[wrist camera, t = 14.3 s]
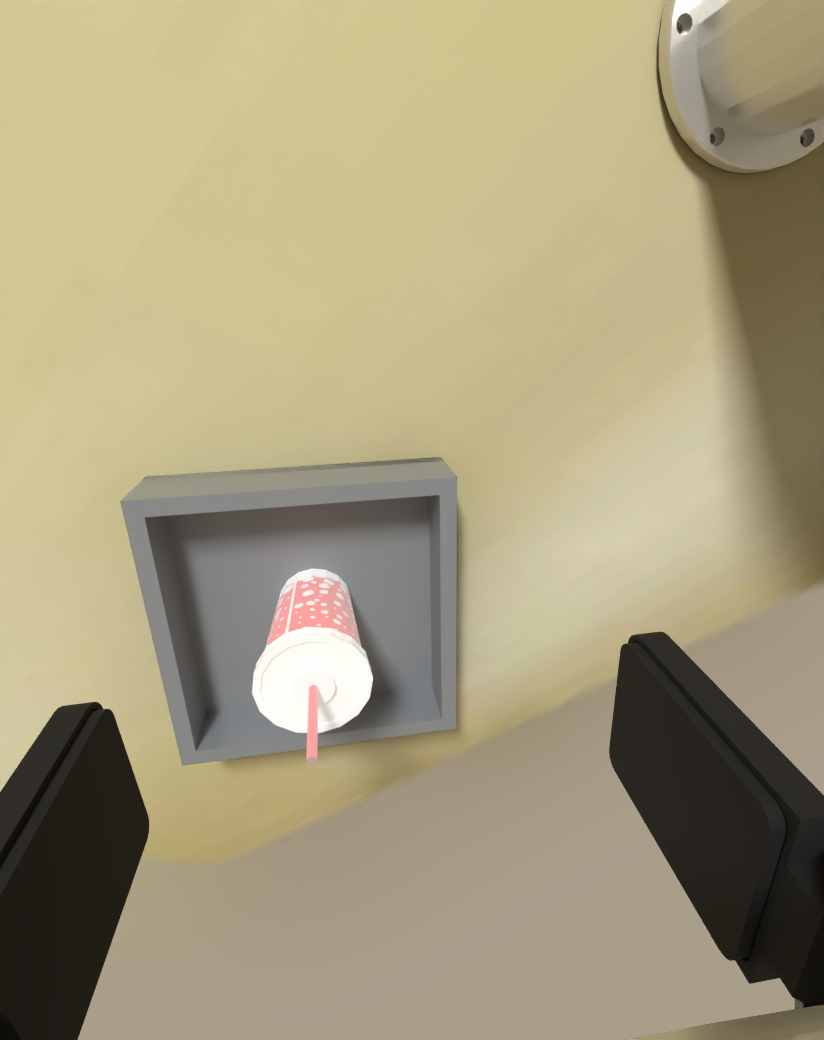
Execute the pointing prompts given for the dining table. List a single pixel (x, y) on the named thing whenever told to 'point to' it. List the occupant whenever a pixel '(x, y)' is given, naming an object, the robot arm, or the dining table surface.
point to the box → (265, 570)
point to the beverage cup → (312, 659)
